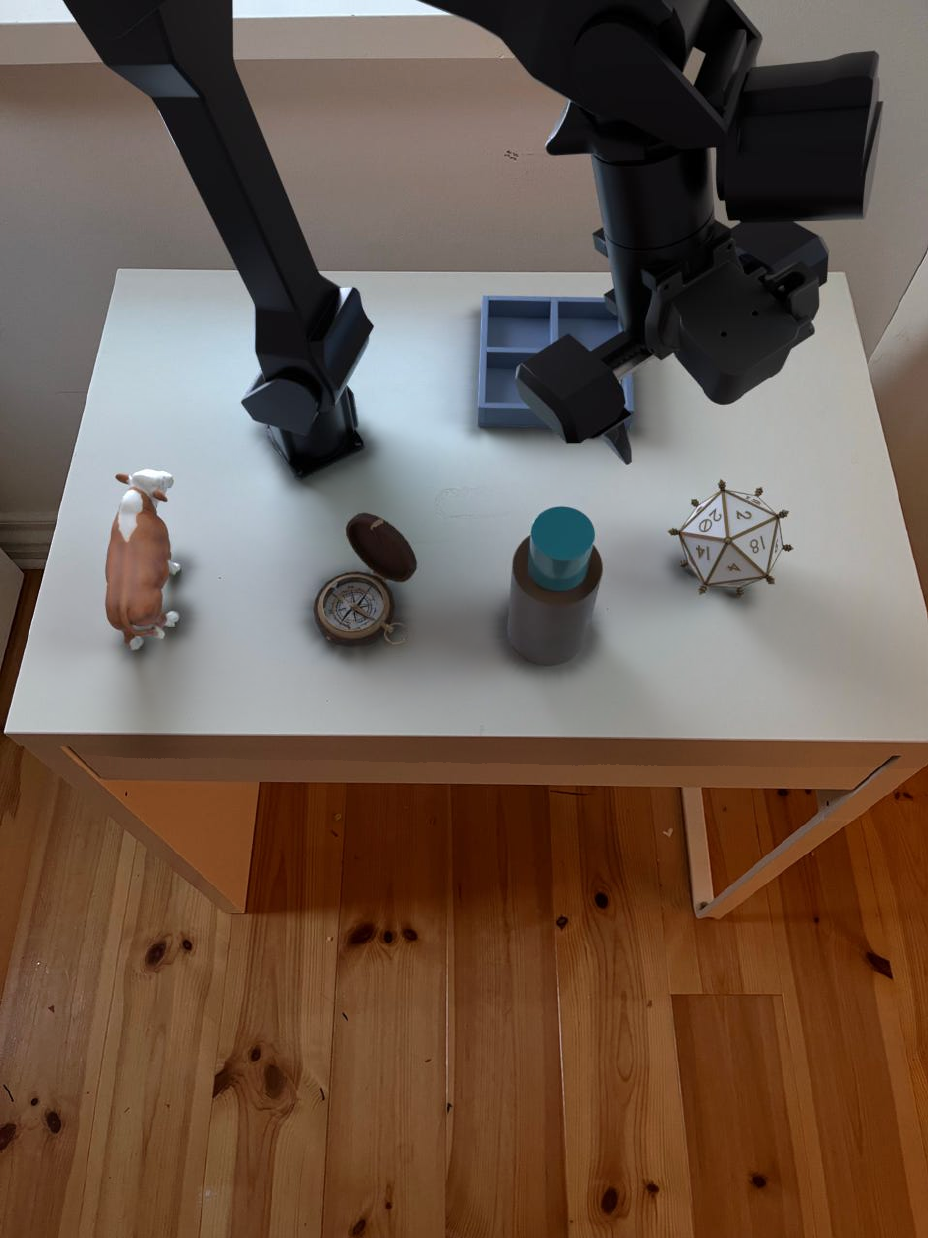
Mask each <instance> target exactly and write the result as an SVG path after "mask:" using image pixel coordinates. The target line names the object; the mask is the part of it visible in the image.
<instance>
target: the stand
mask: <svg viewBox="0 0 928 1238" xmlns="http://www.w3.org/2000/svg"><path fill="white" fill-rule="evenodd" d="M529 544H530V534H529V535H527V537H525V538H524V539H523V540H522V541H521V542H520V543H519V544H518V546H517V547H516V549H515V552H514V553H513V557H512V563H511V577H510V589H509V603H508V616H507V636H508V639H509V641H510V644H511V645H512V647H513V649H514V650H515V651H516V652H517V653H518V654H519V655H520V656H521V657H522V658H523V659H525V660H527V661H529V662H532V663H534V664H537V665H542V666H555V665H556V666H557V665H560V664H563V663H566V662H568V661H570V660H572V659H573V658H575V657H576V656H577V655H578V654H579V653H580V651H581V650H582V648H583V647H584V645H585V643H586V640H587V636H588V634H589V633H588V632H589V628H590V625H591V621H592V617H593V613H594V609H595V605H596V602H597V597H598V593H599V590H600V585H601V581H602V578H603V572H604V564H603V559H602V556H601V554H600V552H599V550H598V548H597V547H596V546H595V544H593V549H592V553H591V557H590V562H589V566H588V571H587V574H586V577H585V578H584V580H583V581H582V582H581V583H580V584H579V585H578V586H576V587H575V588H573V589H570V590H567V591H551V590H547V589H545V588H543V587H541V586H540V585H538V584H537V583H536V582H535V581H534V580H533V579H532V577H531V576H530V574H529V571H528V553H529Z"/></svg>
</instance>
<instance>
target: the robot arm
mask: <svg viewBox="0 0 928 1238" xmlns="http://www.w3.org/2000/svg"><path fill="white" fill-rule="evenodd" d="M415 1H417V2H418V3H421V4H424V5H426V6H429V7H431V8H434V9H437V10H439V11H442V12H444V13H447V14H449V15H452V16H454V17H457V18H459V19H462V20H464V21H467V22H469V23H471V24H474V25H475V26H476V25H477V26H478V27H479V28H481V29H483V30H485V31H486V32H488V33H489V34H491V35H493V36H494V37H496V38H498V39H499V40H500V41H501V42H502V43H503V44H504V45H505V47H507V49H508V50H509V52H511V54H512V55H513V56H514V58H515V59H516V60H517V61H518V62H519V64H520V65H521V66H522V68H524V70H525V71H526V72H527V73H528V75H529V76H530V77H531V78H532V79H534V81H536V82H538V83H540V84H542V85H543V86H545V87H546V88H548V89H550V90H551V91H553V92H554V93H556V94H557V95H559V96H561V97H563V98H565V99H566V100H568V101H567V102H566V103H565V104H564V106H563V108H562V109H561V112H560V114H559V115H558V118H557V120H556V122H555V124H554V126H553V128H552V130H551V132H550V134H549V136H548V138H547V141H546V143H545V146H544V147H545V151H546V153H547V154H548V155H549V156H553V157H557V156H559V157H560V156H571V155H572V156H574V155H575V156H576V155H590V160H591V166H592V171H593V179H594V183H595V188H596V196H597V200H598V206H599V211H600V217H601V222H602V227H600V228H599V229H597V230H595V231H594V232H593V233H591V236H592V240H593V246H594V249H595V251H597V252H599V253H600V254H601V255H602V256H604V257H606V258H607V259H608V263H609V270H610V275H611V280H612V286H613V287H612V288H611V289H610V290H608V291H607V292H605V293H603V298H604V299H605V304H606V308H607V309H608V310H609V311H610V312H612V313H613V314H614V315H616V316H617V317H618V318H619V321H620V326H621V329H622V331H621V332H620V333H618V334H617V335H615V336H614V337H612V338H611V339H609V340H607V341H606V342H604V343H603V344H601V345H600V346H598V347H597V348H595V349H593V350H592V351H589V350H588V349H587V348H586V347H585V346H583V345H582V344H581V343H580V342H579V341H577V340H576V339H575V338H574V337H573V336H572V335H570V334H569V333H568V334H566V335H564V336H563V337H561V338H560V339H558V340H557V341H555V342H554V343H552V344H550V345H549V346H547V347H546V348H544V349H543V350H541V351H540V352H538V353H536V354H535V355H533V356H532V357H530V358H529V359H527V360H526V361H524V362H522V363H521V364H520V365H519V366H518V367H517V370H516V376H515V382H516V385H517V388H518V391H519V395H520V398H521V400H522V401H523V402H524V403H525V404H526V405H527V406H528V407H529V408H530V409H531V410H533V411H534V412H535V413H536V414H537V415H538V416H539V417H540V418H541V419H542V420H543V421H544V422H545V423H546V424H547V425H548V426H549V427H550V428H549V429H551V430H552V431H553V432H554V433H555V434H556V435H557V436H558V437H559V438H560V439H561V440H562V441H563V442H564V443H565V444H566V445H570V444H571V445H580V444H582V443H584V442H585V441H587V440H589V441H590V440H591V441H592V440H596V439H598V438H601V439H602V440H603V442H605V443H606V445H607V446H608V447H609V448H610V449H611V451H612V453H614V454H615V455H616V457H617V458H618V459H619V460H620V461H622V462H623V464H625V465H626V466H628V465H630V464H631V463H632V462H633V453H632V452H633V451H632V447H631V442H630V439H629V435H628V431H627V430H628V429H626V426H625V423H624V421H625V420H626V419H628V418H629V417H631V416H632V414H631V413H630V412H629V411H628V410H627V409H626V408H625V407H624V405H625V403H626V401H625V395H624V390H623V388H622V386H621V384H620V383H619V381H620V380H622V379H623V378H625V377H626V376H628V375H629V374H631V373H632V374H633V373H634V372H636V371H638V370H639V369H640V368H642V367H643V366H645V365H646V364H648V363H649V362H651V361H653V360H654V359H656V358H657V359H658V360H659V361H661V362H662V361H664V360H665V359H666V358H667V357H670V356H671V355H672V354H673V355H674V358H675V359H676V360H677V361H678V362H679V364H680V365H681V366H682V368H684V370H686V372H687V373H688V374H689V375H690V376H691V377H692V379H693V380H694V381H695V382H696V383H697V385H698V386H699V387H700V388H701V389H702V391H703V394H704V395H705V396H706V397H707V399H708V400H710V402H712V403H714V404H716V405H721V406H729V405H731V404H734V403H736V402H737V401H738V400H740V399H741V398H742V397H744V396H745V395H746V394H747V393H748V392H751V390H753V389H754V388H756V387H758V386H759V385H761V384H762V383H764V382H765V381H766V380H768V379H771V378H774V377H775V376H776V375H778V374H779V373H780V372H781V371H782V370H783V368H784V365H785V364H786V361H787V359H788V357H789V355H790V352H791V350H792V349H794V348H795V347H797V346H798V345H800V344H801V343H803V342H805V341H806V340H808V339H809V338H811V337H812V336H813V335H815V332H816V330H815V325H814V324H813V322H812V321H814V320H815V318H816V316H817V313H818V311H819V310H820V287H822V286H823V285H825V284H826V283H827V282H828V275H829V274H828V273H829V259H830V249H829V247H828V245H827V242H825V239H824V238H823V236H821V235H819V234H817V233H816V232H814V231H812V230H811V229H809V228H807V227H805V226H804V225H802V224H800V223H799V222H825V221H826V222H828V221H859V220H860V221H862V220H863V221H864V220H865V219H866V216H867V214H868V209H869V205H870V200H871V195H872V190H873V184H874V178H875V171H876V165H877V159H878V151H879V143H880V137H881V128H882V121H883V119H882V118H883V108H884V100H880V77H878V74H879V63H880V54H879V53H878V52H877V51H876V50H867V51H855V52H849V53H843V54H840V55H837V56H834V57H831V58H828V59H822V60H813V61H812V60H811V61H803V62H792V63H783V64H781V63H780V64H772V65H761V66H757V58H758V55H759V52H760V48H761V46H762V43H763V40H764V37H763V35H762V33H761V32H760V30H759V29H758V28H757V27H756V26H755V24H754V23H753V22H752V21H751V20H750V18H749V17H748V16H747V15H746V14H745V12H744V11H743V10H742V9H741V8H740V6H739V5H738V4H737V2H736V1H735V0H415ZM62 2H63V3H64V6H65V7H66V9H67V10H68V11H69V14H71V16H72V17H73V20H75V22H76V23H77V25H78V27H79V28H80V30H81V31H82V33H83V34H84V35H85V37H86V39H87V41H88V42H89V44H90V45H91V46H92V48H93V49H94V51H95V53H96V54H97V56H98V57H99V59H100V60H101V61H102V63H103V64H104V65H105V66H106V67H107V68H108V69H110V70H111V71H112V72H114V73H116V74H117V75H119V76H120V77H121V78H122V79H124V80H125V81H127V82H128V83H129V84H131V85H132V86H134V87H135V88H136V89H138V90H139V91H141V92H142V93H144V94H145V95H146V96H147V97H149V98H150V99H151V101H152V102H153V104H154V105H155V107H156V109H157V111H158V113H159V115H160V117H161V119H162V121H163V123H164V125H165V127H166V129H167V131H168V133H169V135H170V137H171V139H172V141H173V143H174V145H175V147H176V149H177V152H178V153H179V155H180V157H181V159H182V161H183V164H184V166H185V167H186V170H187V172H188V174H189V175H190V178H191V179H192V182H193V183H194V185H195V188H196V189H197V192H198V194H199V196H200V198H201V200H202V202H203V204H204V206H205V207H206V210H207V212H208V214H209V216H210V218H211V219H212V222H213V224H214V226H215V228H216V231H218V234H219V236H220V238H221V240H222V242H223V243H224V244H223V245H224V246H225V248H226V250H227V252H228V254H229V256H230V259H231V260H232V263H233V264H234V266H235V268H236V270H237V272H238V274H239V276H240V278H241V280H242V283H243V284H244V287H245V288H246V291H247V292H248V294H249V297H250V298H251V301H252V304H253V307H254V353H255V356H256V359H257V363H258V365H259V368H260V369H259V371H258V372H257V374H256V376H255V378H254V379H253V381H252V382H251V384H250V386H249V388H248V389H247V390H246V393H245V394H244V396H243V397H242V398H241V401H240V404H241V405H242V407H243V408H244V410H245V411H246V412H247V413H248V415H249V416H250V418H251V419H252V421H254V422H256V423H260V424H263V425H264V430H265V431H264V432H265V434H267V436H268V438H269V440H270V441H271V443H272V444H273V446H274V447H275V448H276V450H277V452H278V453H279V455H280V456H281V458H282V459H283V460H284V462H285V464H286V465H287V467H288V468H289V469H290V471H291V473H292V475H293V476H294V477H295V478H296V479H298V480H303V479H305V478H307V477H310V476H311V475H313V474H315V473H318V472H319V471H322V470H324V469H326V468H328V467H330V466H332V465H334V464H336V463H338V462H340V461H343V460H344V459H346V458H348V457H351V456H353V455H354V454H356V453H359V452H361V451H362V450H363V449H364V448H365V441H364V439H363V438H362V436H361V435H360V434H359V432H358V431H357V430H356V429H357V428H359V424H360V422H359V417H358V411H357V406H356V405H357V404H356V399H355V394H354V392H353V390H351V387H350V386H349V385H348V383H349V381H350V379H351V377H352V375H354V372H355V370H356V369H357V366H358V365H359V363H360V361H361V359H362V357H363V356H364V353H365V352H366V350H367V348H368V346H369V344H370V335H371V334H372V331H373V330H374V328H375V325H374V324H373V322H372V321H371V320H370V318H369V317H368V316H367V313H366V311H365V310H364V307H363V302H362V297H361V292H360V291H359V290H358V288H356V287H354V286H349V287H342V286H339V284H337V283H335V282H334V281H332V280H330V279H328V278H327V277H325V276H324V275H322V274H321V273H320V271H319V269H318V267H317V265H316V262H315V260H314V258H313V254H312V252H311V250H310V247H309V245H308V242H307V240H306V237H305V235H304V233H303V230H302V228H301V225H300V223H299V220H298V218H297V215H296V213H295V211H294V208H293V206H292V202H291V200H290V198H289V195H288V193H287V191H286V188H285V185H284V183H283V181H282V178H281V176H280V174H279V171H278V168H277V166H276V164H275V162H274V161H275V160H274V158H273V156H272V154H271V150H270V148H269V146H268V143H267V142H266V141H267V140H266V139H265V137H264V134H263V132H262V129H261V127H260V124H259V122H258V119H257V117H256V114H255V112H254V109H253V107H252V104H251V102H250V99H249V97H248V95H247V91H246V90H245V88H244V85H243V82H242V80H241V78H240V75H239V73H238V70H237V66H236V64H235V60H234V59H235V57H234V5H233V4H234V0H62ZM694 49H696V50H697V51H700V52H701V53H703V54H704V56H703V59H702V62H701V64H700V67H699V69H698V72H697V75H696V77H695V80H694V83H692V82H691V81H690V80H689V79H688V78H687V77H686V75H685V74H684V72H685V69H686V66H687V64H688V62H689V59H690V57H691V55H692V52H693V50H694ZM714 148H715V187H716V195H717V199H718V200H719V202H724V206H725V214H726V217H727V221H728V222H735V221H736V222H737V221H739V222H738V223H737V224H735V225H734V226H732V227H729V226H727V225H726V224H724V223H722V222H721V221H719V220H717V219H716V214H715V211H716V210H715V197H714V195H715V194H714V181H713V163H712V161H713V160H712V149H714Z"/></svg>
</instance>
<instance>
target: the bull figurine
mask: <svg viewBox="0 0 928 1238" xmlns="http://www.w3.org/2000/svg"><path fill="white" fill-rule="evenodd" d="M115 479H116V480H117V482H120V483H121V484H125V485H128V486H129V489H128V490H127V491H126V492H125V493H124V495H123V496H122V497H121V500H120V503H119V505H118V511H117V513H116V515H115V517H114V520H113V522H112V525H111V529H110V537H109V543H108V545H107V550H106V551H107V552H106V560H105V568H104V569H105V570H104V571H105V573H104V574H105V581H106V592H105V600H104V601H105V602H104V606H105V613H106V618H107V621H108V623H109V624H110V626H111V627H112V628H113V629H115V630H117V631H120V632H122V634H123V639H124V640H123V641H124V643H125V644H126V645H129V646H130V650H132V651H134V650H138V649H140V647H142V646H143V645H144V643H145V640H144V636H147V635H150V636H151V637H154V638H157V639H159V640H163V638H165V635H166V633H165V631H164V630H163V628H164V627H166V628H171V627H176V626H175V623H177V622H178V621H179V619H180V614H179V612H177V611H175V610H170V611H169V612H167V613H165V612H163V602H164V601H163V600H164V595H163V591H162V590H163V588H164V587H165V586H166V584H167V583H168V580H169V577H170V575H173V576H175V575H176V574H177V573H179V572H180V571H181V568H182V567H181V564H179V563H178V562H174V561H172V557H173V556H172V552H171V548H172V547H171V541H170V534H169V530H168V526H167V524H166V522H165V521H164V520H163V519H162V518H161V517H160V516H159V515H158V511H157V508H158V503H159V502H164V503H167V502H168V501H169V500H168V498H167V496H166V495H167V492H168V489H171V488H172V487H173V485H174V479H173V475H172V474H170V473H169V472H166V471H164V470H162V471H157V470H154V469H143V470H140V471H137V472H134V473H133V474H132V476H131V475H130V474H127V473H117V474H115ZM152 625H153V626H152ZM134 626H135V627H140V628H145V627H149V626H152V627H151V628H145V629H140V630H139V629H136V628H135V627H134ZM142 636H143V637H142Z"/></svg>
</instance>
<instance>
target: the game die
mask: <svg viewBox="0 0 928 1238" xmlns="http://www.w3.org/2000/svg"><path fill="white" fill-rule="evenodd" d="M726 483H727V482H726V481H724V480H723V479H722V478H720V479H719V481H718V483H717V486H718V489H719V491H718V492H717V491H716V493H714V494H712V495H711V496H710V497H708V498H707V499H705V500H703V501H701V502H699V500H698V499H697V498H691V499H690V505H691V506H693V507H694V510H692V512H691V514H690V515H689V517H687V519H686V521H685V522H684V523H683V525H682V526H681V527H680V529H679V530H678V529H677V528H674V527H672V528H670V529H668V530H667V532H668V533H669V535H670V537H671V536H674V537H675V536H678V537H679V541H680V544H681V547H682V550H683V552H684V556H685V559H683V560H680V563H679V567H681V568H686V567H688V565H689V566H690V568H691V570H693V572H694V574H695V575H696V576H697V577H698V579H699V580H700V582H701V583H702V585H700V586H699V588H698V589H697V590H698V592H699V594H698V595H699V596H701V595H703V594H706V592H707V591H708V587H716V588H729V589H736V591H735V592H736V595H737V596H739V598H742V597H743V595H744V594H745V592H744V590H745V589H743V588H744V587H746V586H749V585H751V584H754V583H756V582H759V581H761V580H764V579H765V582H766V583H767V584H768V585H773V586H775V585H776V581H775V579H776V578H774V577H773V576H772V575H770V573H771V571H772V570H773V568H774V567H775V564H776V563H777V560H778V559H779V557H780V555H781V553H782V551H784V552H788V553H790V551H792V550H794V549H795V548H794V547H793V546H792V545H791V544H790V543H789V544H788V543H787V544H784V540H783V534H782V528H781V527H782V526H781V520H780V519H785V518H787V517H788V515H789V512H790V510H785V509H782V511H779V512H778V513H777V512H776V511H774V510H773V508H771V506H769V505H768V504H767V503H766V502H765V501H764V500H763V499H761V495H762V494H763V493H764V491H763V486H760V487H758V488H757V487H756V488H755V490H754V494H751V493H745V492H741V491H735V490H730V489H726V487H727V485H726Z"/></svg>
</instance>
